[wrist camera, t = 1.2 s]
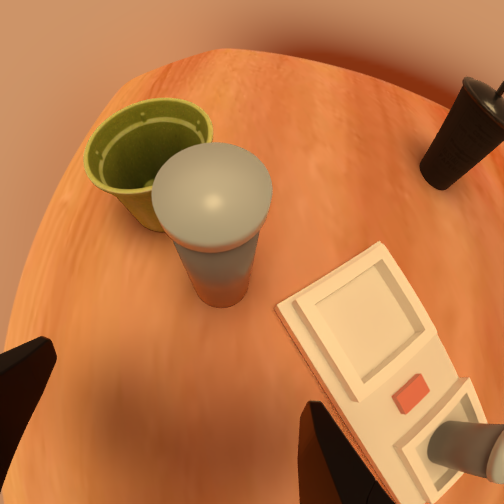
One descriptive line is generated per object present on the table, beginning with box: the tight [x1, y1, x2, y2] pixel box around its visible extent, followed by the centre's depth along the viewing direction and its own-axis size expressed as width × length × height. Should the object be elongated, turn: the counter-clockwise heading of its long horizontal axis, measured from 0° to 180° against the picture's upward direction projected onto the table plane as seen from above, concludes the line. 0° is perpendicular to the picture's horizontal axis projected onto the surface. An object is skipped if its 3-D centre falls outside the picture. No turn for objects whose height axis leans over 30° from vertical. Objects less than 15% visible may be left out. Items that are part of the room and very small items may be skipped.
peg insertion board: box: [274, 241, 504, 504], centre depth 15 cm, size 11×25×10 cm, turn 30°
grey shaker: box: [152, 142, 272, 308], centre depth 17 cm, size 5×5×13 cm
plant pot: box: [83, 98, 213, 232], centre depth 21 cm, size 9×9×9 cm
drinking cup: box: [420, 77, 504, 190], centre depth 21 cm, size 8×8×20 cm
